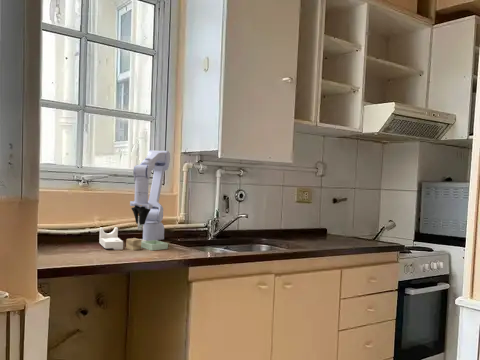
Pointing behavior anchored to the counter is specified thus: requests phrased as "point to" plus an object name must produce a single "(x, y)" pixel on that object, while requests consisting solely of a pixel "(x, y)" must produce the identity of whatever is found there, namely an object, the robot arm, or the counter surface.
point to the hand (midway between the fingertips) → (140, 224)
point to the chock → (133, 244)
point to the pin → (140, 227)
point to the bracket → (110, 239)
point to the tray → (154, 245)
